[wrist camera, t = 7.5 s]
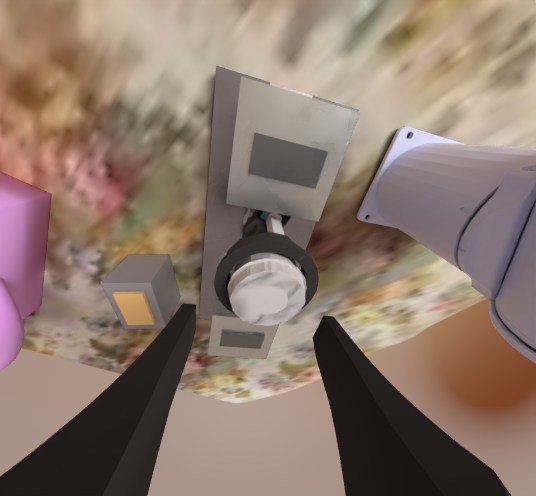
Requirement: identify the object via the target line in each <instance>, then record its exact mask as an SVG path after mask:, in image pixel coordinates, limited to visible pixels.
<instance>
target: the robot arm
mask: <svg viewBox="0 0 536 496" xmlns="http://www.w3.org/2000/svg"><path fill="white" fill-rule="evenodd" d="M408 133H410V136H409V137H408V138H407V134H408ZM366 215H368V217H367V218H365V217H366ZM357 219H358V220H360V221H364V222H369V223H374V224H379V225H384V226H389V227H393V228H398V229H400V230H401V231H403V232H404V233H406V234H407V235H409V236H410V237H412V238H413V239H415V240H416V241H418V242H419V243H421V244H422V245H424V246H425V247H427V248H428V249H430V250H431V251H433V252H434V253H436V254H437V255H439V256H440V257H442V258H443V259H445V260H446V261H448V262H449V263H451V264H452V265H454V266H455V267H457V268H458V269H460V270H461V271H463V272H464V273H466V274H467V275H468V276H469V277H470V278H471V279H472V287H473V288H474V289H476V290H477V291H479V292H480V293H482V294H483V295H484V296H486V297H487V298H489V299H490V300H491V301H490V303H489V315H490V319H491V321H492V323H493V325H494V326H495V328H496V329H497V331H498V332H499V333H500V335H501V336H502V337H503V338H504V339H505V340H506V341H507V342H508V343H509V344H510V345H511V346H513V347H514V348H515V349H516V350H518V351H519V352H520V353H521V354H523V355H524V356H526V357H527V358H528V359H530V360H531V361H533V362H534V363H536V148H523V147H506V146H488V145H470V144H462V143H459V142H456V141H453V140H449V139H446V138H443V137H440V136H436V135H433V134H430V133H427V132H423V131H420V130H417V129H414V128H411V127H401V128H399V129H398V130H397V132H396V134H395V136H394V138H393V140H392V142H391V144H390V146H389V148H388V150H387V153H386V155H385V157H384V159H383V161H382V163H381V165H380V167H379V169H378V171H377V173H376V175H375V178H374V180H373V182H372V184H371V186H370V188H369V190H368V192H367V194H366V196H365V198H364V200H363V202H362V205H361V207H360V209H359V211H358V213H357ZM195 327H196V305H193V304H182V305H181V307H180V308H179V309H178V311H177V312H176V314H175V315H174V316H173V318H172V319H171V320H170V321H169V323H168V324H167V325H166V327H165V328H164V329H163V330H162V331H161V333H160V334H159V335H158V336H157V337H156V338H155V340H154V341H153V342H152V343H151V344H150V345H149V346H148V347H147V349H146V350H145V351H144V352H143V353H142V354H141V355H140V356H139V357H138V358H137V359H136V360H135V361H134V362H133V363H132V365H131V366H130V367H129V368H128V369H127V370H126V371H125V372H124V373H123V374H122V375H120V376H119V378H117V379H116V380H115V381H114V383H112V384H111V385H110V386H109V387H108V388H107V389H106V390H105V391H103V392H102V393H101V394H100V395H99V396H98V397H97V398H96V399H95V400H94V401H93V402H91V403H90V404H89V405H88V406H87V407H86V408H85V409H83V410H82V411H81V412H80V413H79V414H78V415H76V416H75V417H74V418H73V419H72V420H70V421H69V422H68V423H67V424H66V425H64V426H63V427H62V428H61V429H60V430H58V431H57V432H56V433H55V434H54V435H52V436H51V437H50V438H49V439H48V440H46V441H45V442H44V443H43V444H42V445H40V446H39V447H38V448H37V449H35V450H34V451H33V452H31V453H30V454H29V455H28V456H26V457H25V458H24V459H22V460H21V461H20V462H19V463H17V464H16V465H15V466H13V467H12V468H11V469H10V470H8V471H7V472H6V473H4V474H3V475H2V476H0V496H147V494H148V490H149V486H150V482H151V478H152V475H153V471H154V467H155V463H156V459H157V455H158V451H159V448H160V444H161V440H162V436H163V432H164V429H165V425H166V421H167V418H168V414H169V410H170V407H171V404H172V401H173V398H174V395H175V392H176V389H177V387H178V384H179V381H180V378H181V375H182V372H183V370H184V367H185V364H186V361H187V358H188V355H189V353H190V350H191V346H192V342H193V338H194V334H195ZM313 343H314V349H315V354H316V359H317V362H318V366H319V369H320V373H321V376H322V380H323V383H324V387H325V390H326V393H327V397H328V400H329V404H330V408H331V412H332V417H333V422H334V427H335V432H336V438H337V443H338V449H339V454H340V460H341V467H342V473H343V480H344V486H345V494H346V496H511V494H510V493H509V492H508V490H507V489H506V487H505V486H504V485H503V483H502V482H501V480H500V479H499V477H498V476H497V474H496V473H495V472H494V470H492V469H491V468H490V467H488V466H487V465H486V464H485V463H483V462H482V461H480V460H479V459H478V458H477V457H475V456H474V455H473V454H471V453H470V452H469V451H468V450H466V449H465V448H463V447H462V446H461V445H459V444H458V443H457V442H456V441H455V440H453V439H452V438H451V437H450V436H449V435H447V434H446V433H445V432H444V431H443V430H441V429H440V428H439V427H438V426H436V425H435V424H434V423H433V422H432V421H431V420H430V419H428V418H427V417H426V416H425V415H424V414H423V413H421V412H420V411H419V410H418V409H417V408H416V407H415V406H414V405H413V404H412V403H410V402H409V401H408V400H407V399H406V398H405V397H404V396H403V395H402V394H401V393H400V392H399V391H398V390H397V389H396V388H395V387H394V386H393V385H392V384H391V383H390V382H389V381H388V380H387V379H386V378H385V377H384V376H383V375H382V374H381V373H380V372H379V371H378V369H377V368H376V367H375V366H374V365H373V364H372V363H371V362H370V361H369V359H368V358H367V357H366V356H365V355H364V354H363V352H362V351H361V350H360V349H359V348H358V346H357V345H356V344H355V343H354V342H353V340H352V339H351V338H350V337H349V335H348V334H347V333H346V332H345V330H344V329H343V328H342V327H341V325H340V324H339V323H338V322H337V320H336V319H335V318H334V317H333V316H323V318H322V320H321V322H320V324H319V326H318V328H317V330H316V332H315V334H314V336H313Z"/></svg>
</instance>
